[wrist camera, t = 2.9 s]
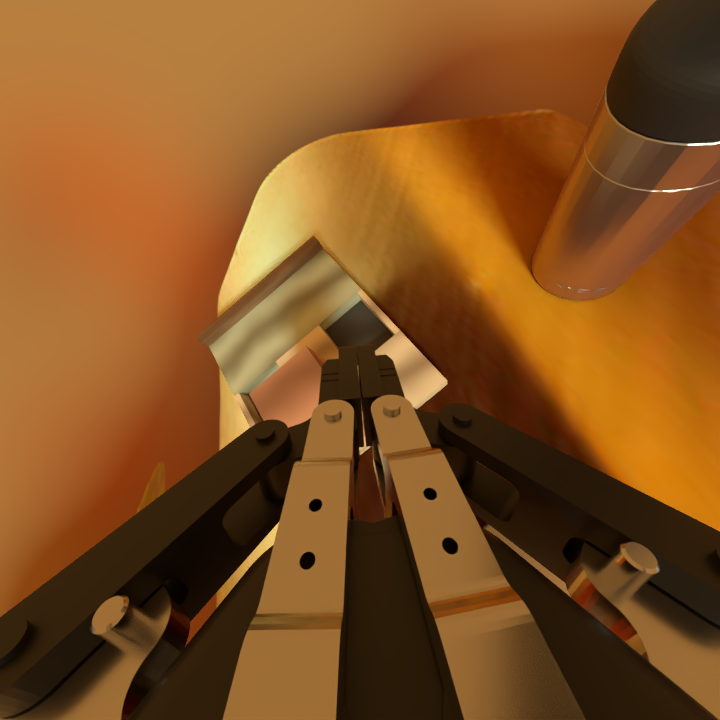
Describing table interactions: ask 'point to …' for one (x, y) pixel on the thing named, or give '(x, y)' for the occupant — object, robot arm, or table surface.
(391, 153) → the table surface
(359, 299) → the trap box
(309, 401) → the block
